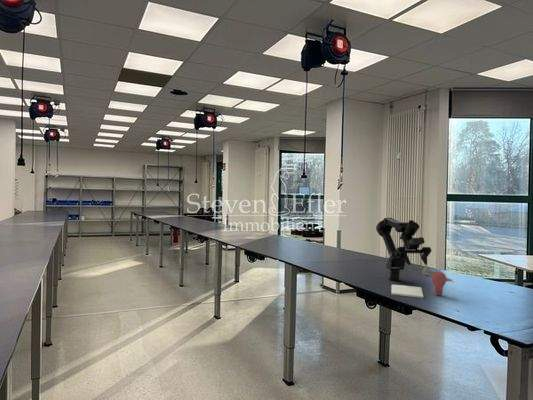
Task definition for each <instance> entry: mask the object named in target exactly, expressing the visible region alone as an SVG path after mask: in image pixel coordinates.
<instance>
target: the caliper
mask: <svg viewBox="0 0 533 400" xmlns="http://www.w3.org/2000/svg"><path fill="white" fill-rule="evenodd" d="M422 270H423V271H422V274H423V276H426V275H427V276H428V275H429V274H430V275H431V276H432V274H433V273H434V272H435V270H433V269H431V268H429V266H427V265H425V266H424V267H423V269H422ZM446 278H447V280H448V281H447V280H446V281H447V282H450V281H452V283H454V280H452V278H449V277H447V276H446Z"/></svg>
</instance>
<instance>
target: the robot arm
mask: <svg viewBox="0 0 533 400" xmlns="http://www.w3.org/2000/svg"><path fill="white" fill-rule="evenodd" d="M375 227H376V228H375V229H376V233H377V234H378V235H379V236H380V237H382V240H383V242H384V244H385V247H386V249H387V253H388V255H389V257H388V261H387V262H386V264H385V265H386V269H387V270H389V276H388V280H389V281H394V282H395V281H396V282H397V281H398V282H400V281H401V278H400V277H401V276H400V275H401V271H402V270H403V271H404V268H405V265H406V264H407V265H408V266H411V261H410V259H409V256H408V254H411V255H412V254H418V255H419V256H420V259H421V261H422V262H423V263H424V265H425V266H427V265H428V257H429V255H430V254H431V252H432V247H430V246H422V248H421V249H419V248H420V245H423V244H425V239H424V237H414V236H415V235H416V234H417V232H418V230H419V228H420V225H419V224H418V223H417V222H415V221H414V220H411V219H410V220H408V222H403V221H399V220H398V219H395V218H393V217H384V218H383V220H381V221H379V222H378V223H377V225H376V226H375ZM393 228H394V231H395V232H397V233H401V234H400V236H399V240H402V242H403V245H402V246H397V247H396V245H395V243H394V240H393V238H392V235H391V233H392V229H393Z"/></svg>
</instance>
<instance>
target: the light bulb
mask: <svg viewBox="0 0 533 400" xmlns="http://www.w3.org/2000/svg"><path fill="white" fill-rule="evenodd" d="M446 277H447V275H446V274H445V273H444V272H442V271H434V273H433V274H432V275H431V278H430V279H431V282H432V285H433V289H434V295H436V296H442V295H443V290H444V286H445V285H446V283H447V278H448V277H447V278H446Z"/></svg>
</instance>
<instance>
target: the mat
mask: <svg viewBox="0 0 533 400" xmlns="http://www.w3.org/2000/svg"><path fill="white" fill-rule="evenodd" d="M390 294H391V295H393V296H401V297H402V296H403V297H409V298H410V297H411V298H421V299H424V293H423V289H422V287H419V286H410V285H401V284H391V293H390Z"/></svg>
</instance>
